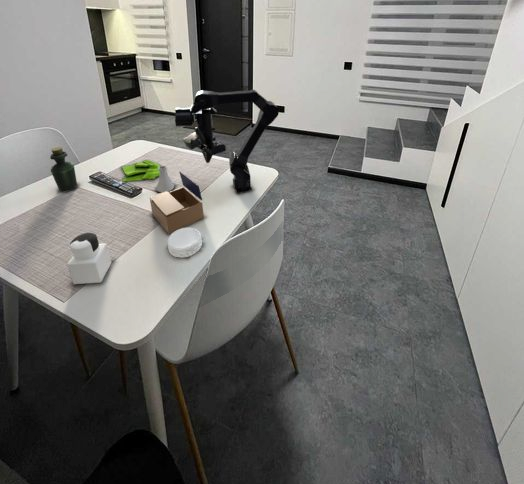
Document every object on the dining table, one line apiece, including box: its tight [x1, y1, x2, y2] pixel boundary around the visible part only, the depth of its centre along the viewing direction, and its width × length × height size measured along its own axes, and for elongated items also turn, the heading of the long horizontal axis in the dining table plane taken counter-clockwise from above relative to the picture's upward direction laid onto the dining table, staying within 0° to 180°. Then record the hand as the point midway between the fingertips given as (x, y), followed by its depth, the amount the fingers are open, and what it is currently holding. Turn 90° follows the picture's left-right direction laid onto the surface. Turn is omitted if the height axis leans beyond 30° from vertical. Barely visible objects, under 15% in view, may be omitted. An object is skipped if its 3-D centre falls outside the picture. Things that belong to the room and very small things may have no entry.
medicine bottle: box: [66, 232, 112, 285], centre depth 76 cm, size 7×7×12 cm
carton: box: [149, 186, 205, 235], centre depth 101 cm, size 13×14×7 cm
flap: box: [178, 170, 203, 202], centre depth 102 cm, size 6×14×1 cm
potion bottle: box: [49, 146, 78, 193], centre depth 117 cm, size 8×8×18 cm
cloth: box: [121, 159, 161, 182], centre depth 134 cm, size 20×22×2 cm
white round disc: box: [167, 226, 203, 259], centre depth 87 cm, size 10×10×4 cm
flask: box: [155, 165, 175, 193], centre depth 118 cm, size 7×7×10 cm
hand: (207, 162), depth 113 cm, fingers closed
